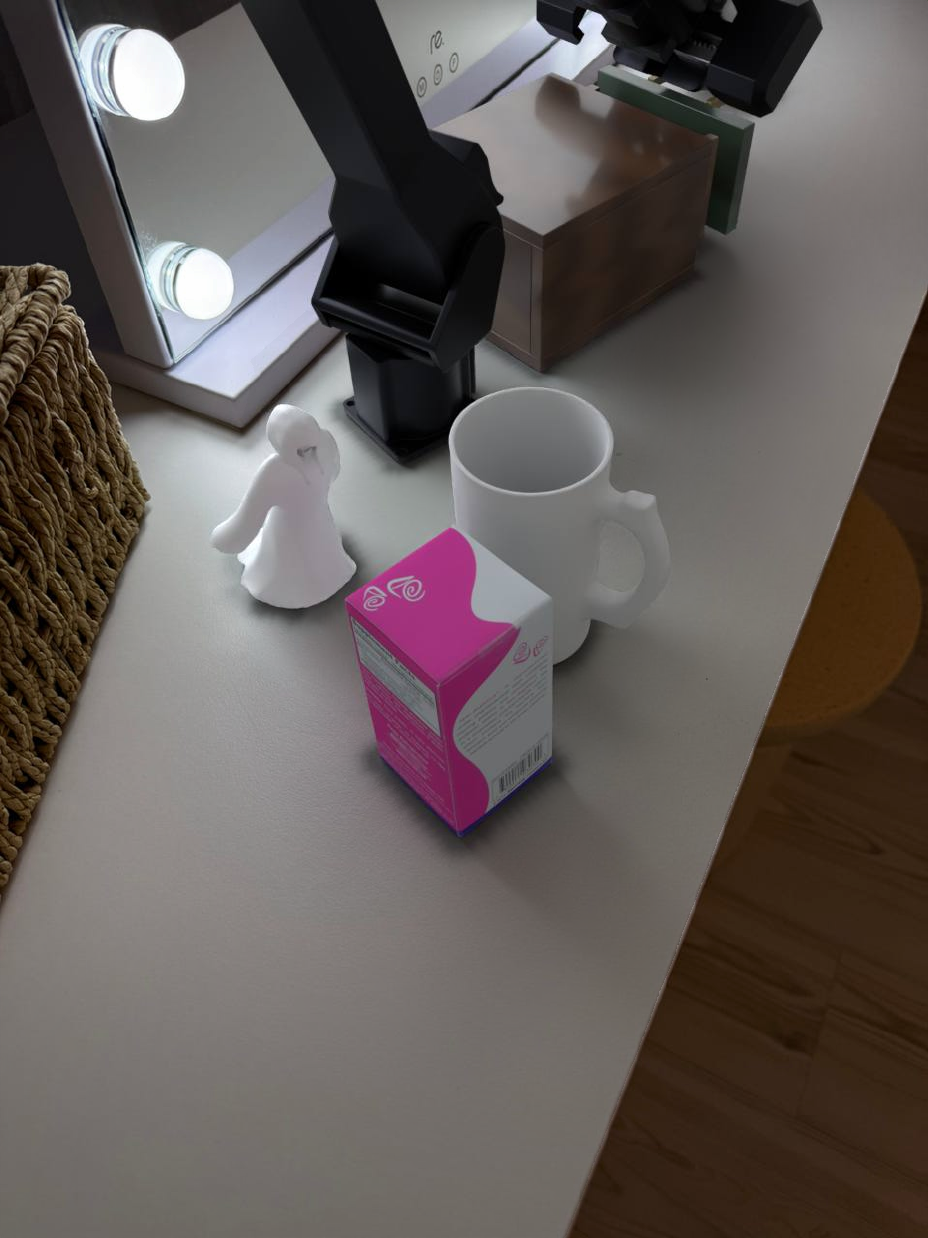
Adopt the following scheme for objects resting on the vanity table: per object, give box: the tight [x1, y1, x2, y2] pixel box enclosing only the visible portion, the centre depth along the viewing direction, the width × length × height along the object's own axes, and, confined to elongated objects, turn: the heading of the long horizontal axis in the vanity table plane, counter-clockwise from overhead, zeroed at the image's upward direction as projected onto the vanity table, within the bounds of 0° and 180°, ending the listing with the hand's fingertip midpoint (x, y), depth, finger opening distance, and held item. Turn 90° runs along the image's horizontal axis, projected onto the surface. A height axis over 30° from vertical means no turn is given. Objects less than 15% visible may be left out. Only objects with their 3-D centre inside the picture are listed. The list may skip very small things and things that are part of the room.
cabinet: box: [431, 72, 714, 373], centre depth 67 cm, size 15×14×9 cm
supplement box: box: [344, 524, 554, 838], centre depth 42 cm, size 6×6×12 cm
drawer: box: [586, 64, 756, 238], centre depth 70 cm, size 19×13×8 cm, turn 133°
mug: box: [448, 386, 671, 666], centre depth 46 cm, size 10×7×12 cm, turn 60°
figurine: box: [209, 403, 358, 610], centre depth 50 cm, size 8×8×12 cm
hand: (714, 82), depth 71 cm, fingers closed
